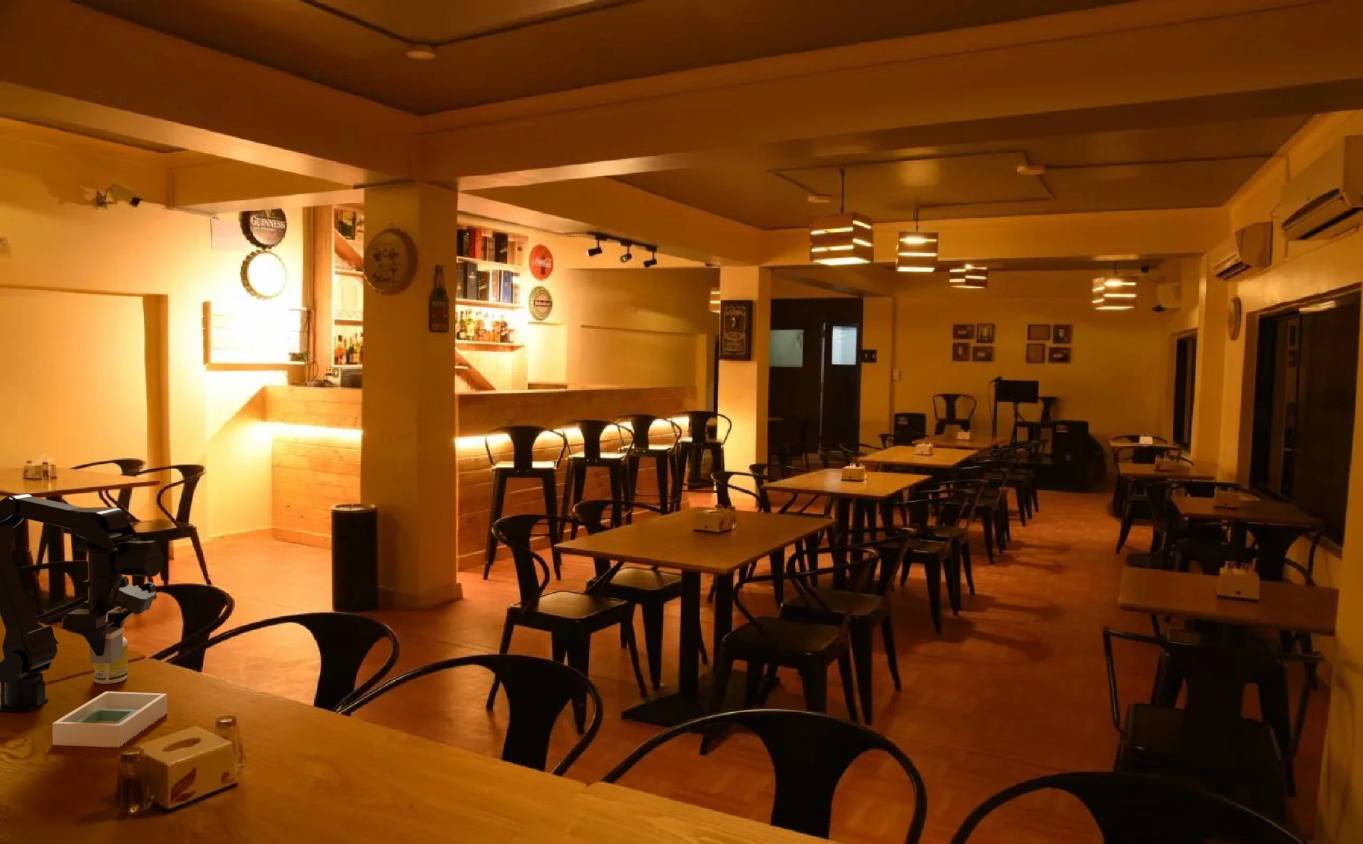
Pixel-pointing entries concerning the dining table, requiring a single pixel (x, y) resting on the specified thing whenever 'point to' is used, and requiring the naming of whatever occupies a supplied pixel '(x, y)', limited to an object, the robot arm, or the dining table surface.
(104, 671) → the pill bottle
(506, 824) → the dining table surface
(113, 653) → the square block
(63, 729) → the walled box
